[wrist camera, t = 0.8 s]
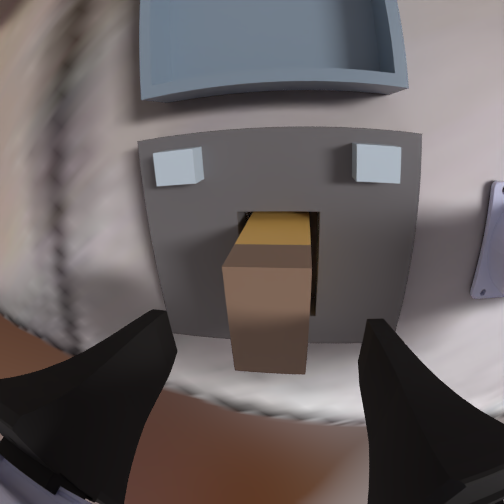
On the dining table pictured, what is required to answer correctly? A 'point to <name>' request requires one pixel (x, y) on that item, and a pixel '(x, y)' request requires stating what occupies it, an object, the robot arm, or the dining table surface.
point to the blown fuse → (270, 292)
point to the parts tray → (269, 47)
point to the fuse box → (285, 199)
